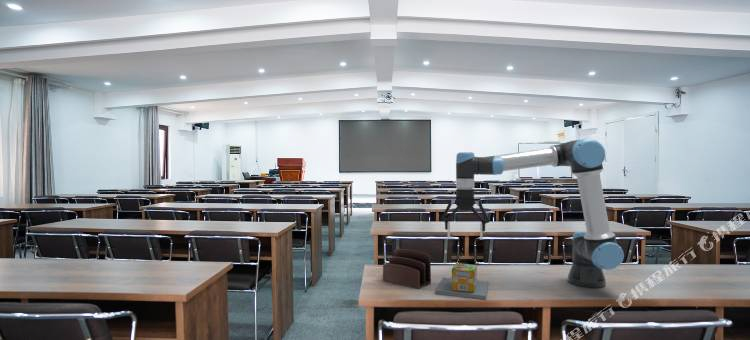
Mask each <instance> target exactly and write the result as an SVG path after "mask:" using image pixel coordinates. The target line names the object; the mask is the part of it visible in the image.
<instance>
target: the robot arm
mask: <svg viewBox="0 0 750 340" xmlns="http://www.w3.org/2000/svg"><path fill="white" fill-rule="evenodd" d="M455 158H456V161H455V177H456V178H455V188H456V189H455V191H456V192H455V199H451V198H450V199H449V200H448V203H447V206H446V209H444V212H443V214H442V215H441V218H440V221H441V222H444V229H445V230H446V231H447V239H450V238H451V221H450V220H451V219H452V217H453V216H454V215H455V214H457V212H458V211H459V210H460V211H468V212H469V211H471V212H472V213H473V214H474V215H475V216H476V217H477V219H478V220H479V222H481V223H480V229H479V232H480V233H479V234H480V235H479V237H480V238H479V239H480V240H483V232H485V231H486V224H489V223H490V218H489V215H488V214H487V212H486V210H485V208H484V206H483V201H482V200H481V199H480V200H475V189H474V188H475V176H477V175H480V176H482V175H486V176H488V175H489V176H490V175H492V176H493V175H494V176H498V175H502V174H503V173H504V172H507V171H514V170H521V169H522V170H523V169H530V168H539V167H546V166H552V167H555V168H556V167H570V170H571V174H572V175H574V176H575V177H576V180H577V185H578V191H579V196H580V197H579V198H580V201H581V207H582V208H581V209H582V212H583V213H582V214H583V219H584V222H585V229H586V230H585V231H574V233H573V235H572V239H571V240H572V264H571V267H570V269H569V272H568V275H567V281H568V283H570V284H572V285H576V286H579V287H584V288H595V289H596V288H597V289H599V288H604V287H606V285H607V284H606V283H607V281H606V277H605V274H604V270H605V271H607V270H608V271H611V270H614V269H616V268H618V267H619V266H620V265H621V264H622V263H623V261H624V258H625V253H624V250H623V249H622V247H621V246H620V245H619V244H618V243H617V239H616V238H617V237H616V234H615V233H614V232H612V231H611V230H610V228H611V227H610V223H609V217H608V213H607V212H608V211H607V207H606V201H605V197H604V191H603V190H604V189H603V185H602V179H601V172H602V171H603V170H604V167H603V162H604V160H605V159H606V149H605V147H604V146H603V145H602V143H600V142H599V141H598V140H596V139H592V138H582V139H576V140H570V141H567V142H564V143H563V142H562V143H560V144H559V143H558V144H554V145H550V147H548V148H541V149H534V150H528V151H519V152H511V153H505V154H496V155H492V156H475V153H474V152H471V151H470V152H464V151H463V152H458V153H457V154H456V157H455ZM454 204H455V205H456V207H455V208H454V210H453V211H452V212H451V213H450V214H449V215H448V213H449V211H450V209H451V207H452V206H453V205H454ZM475 205H476V206H478V208H479V209H480V212H481V213H482V216H483V217H482V216H481V215H480V214H479V212H478V210H476V208H475V207H474V206H475ZM447 215H448V216H447ZM446 216H447V217H446Z"/></svg>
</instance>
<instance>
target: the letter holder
mask: <svg viewBox="0 0 750 340" xmlns="http://www.w3.org/2000/svg"><path fill="white" fill-rule="evenodd" d="M393 254H394V256H389V258H388V263H383V266H382V281H384V282H388V283H391V282H392V284H396V285H402V286H404V287H409V288H413V289H416V290H420V289H422V288H424V287H427V286H429V285H431V284H432V280H431V279H432V271H431V268H432V267H431V266H432V265H431V263H432V262H431V256H430V255H429V254H428V253H426V252H423V251H419V250H413V249H408V248H395V249H394V253H393Z"/></svg>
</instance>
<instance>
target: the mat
mask: <svg viewBox="0 0 750 340" xmlns="http://www.w3.org/2000/svg"><path fill="white" fill-rule="evenodd" d="M488 290H489V281H485V280H484V281H483V280H477V282H476V288H475V291H474V293H469V292H461V291H453V290H452V277H442V278H441V280H440V281H439V284H438V285H437V287H436V289H435V293H434V295H439V296H440V295H441V296H447V295H448V297H457V296H460V297H459V298H466V297H468V298H470V299H475V298H478V299H479V300H485V299H486V300H487V295H488ZM478 299H477V300H478Z"/></svg>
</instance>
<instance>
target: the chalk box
mask: <svg viewBox="0 0 750 340" xmlns="http://www.w3.org/2000/svg"><path fill="white" fill-rule="evenodd" d="M477 274H478V265H477V264H469V263H462V262H461V263H460V262H455V264H454V266H453V267H452V268H451V278H452V290H453V291H461V292H469V293H474V291H475V288H476V282H477V281H478V280H477Z"/></svg>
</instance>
